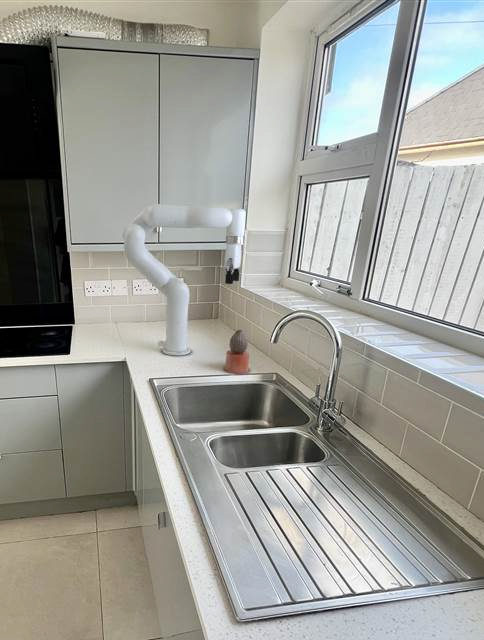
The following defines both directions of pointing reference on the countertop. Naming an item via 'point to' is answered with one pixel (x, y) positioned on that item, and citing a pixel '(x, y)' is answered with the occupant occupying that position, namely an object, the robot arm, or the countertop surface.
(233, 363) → the upturned mug
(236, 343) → the vase
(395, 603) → the countertop surface
